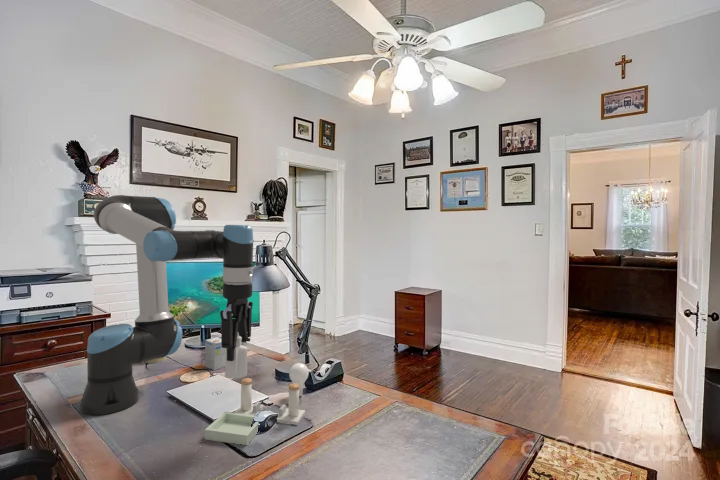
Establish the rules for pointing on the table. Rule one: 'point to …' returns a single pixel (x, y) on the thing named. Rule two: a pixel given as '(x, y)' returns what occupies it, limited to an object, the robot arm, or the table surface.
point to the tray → (232, 428)
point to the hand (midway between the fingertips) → (236, 368)
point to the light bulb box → (214, 354)
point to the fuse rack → (285, 414)
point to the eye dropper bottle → (241, 361)
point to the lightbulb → (299, 375)
